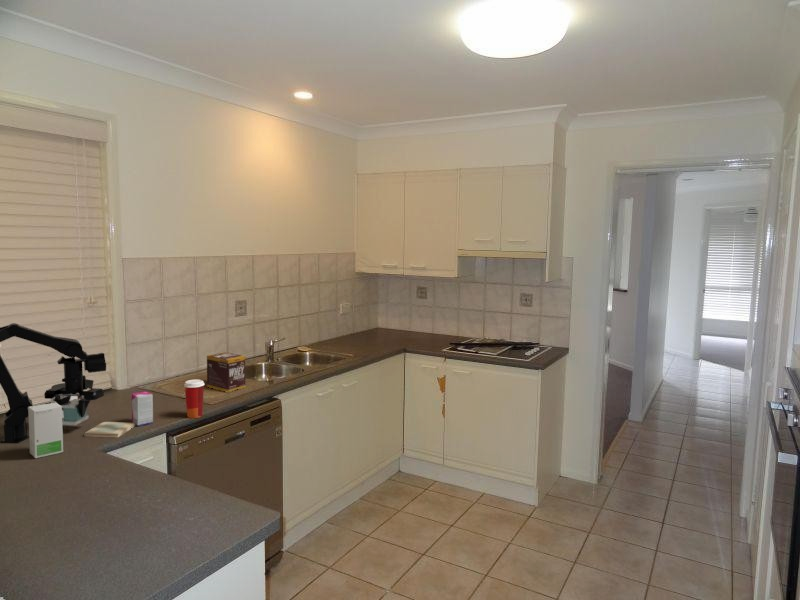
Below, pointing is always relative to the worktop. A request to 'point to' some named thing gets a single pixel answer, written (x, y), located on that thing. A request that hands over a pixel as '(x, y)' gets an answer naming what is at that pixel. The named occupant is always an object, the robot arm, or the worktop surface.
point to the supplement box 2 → (225, 371)
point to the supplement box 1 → (142, 408)
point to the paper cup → (194, 398)
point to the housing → (73, 413)
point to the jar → (64, 387)
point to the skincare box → (45, 430)
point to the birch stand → (110, 429)
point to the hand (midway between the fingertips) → (75, 416)
